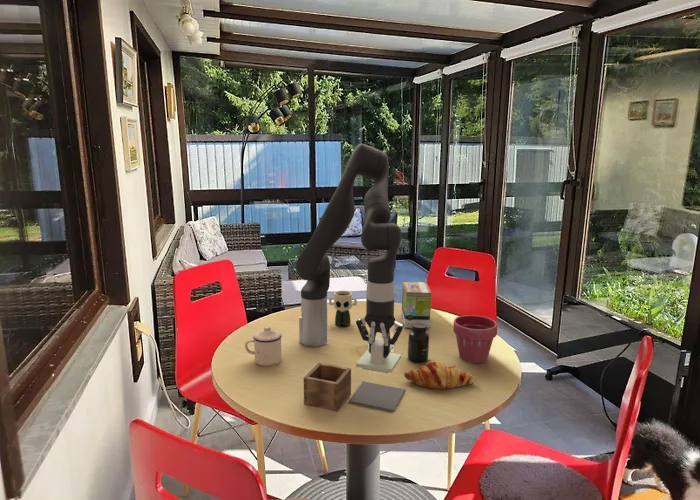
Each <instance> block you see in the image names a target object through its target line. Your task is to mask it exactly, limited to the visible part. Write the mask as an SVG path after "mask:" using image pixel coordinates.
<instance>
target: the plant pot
mask: <svg viewBox="0 0 700 500" xmlns="http://www.w3.org/2000/svg"><path fill="white" fill-rule="evenodd" d="M452 329H453V333H454V334H455V337H456V344H457V348H458V349H457V350H458V355H459V358H460V359H461V360H462V361H464V362H466V363H471V364H482V363H485V362H487V360H488V357H489V354H490V351H491V348H492V345H493V341H494V339H495V338H496V337H497V334H498V323H497V322H496V321H495V320H494V319H493V318H489V317H488V316H485V315H484V316H482V315H474V314H467V315H466V314H465V315H460V316H457V317H456V318H454V319H453V327H452Z"/></svg>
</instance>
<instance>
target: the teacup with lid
mask: <svg viewBox="0 0 700 500" xmlns="http://www.w3.org/2000/svg"><path fill="white" fill-rule="evenodd" d="M282 337H283V336H282V333H281V332H280V331H279V330H278V329H273V328H271V326H264V329H262V330H258V331H256V332H255V333H254V334H253V337H252V339H248V340H246V342H245V343H244V349H245V351H246V352H247V353H248V354H250V355H254V361H255V363H256V364H257V365H260V366H263V367H264V366H265V367H270V366H276V365H277V364H279V363H280V362H281V361H282V358H283V357H282ZM249 343H254V344H253V345H254V346H253V347H254V351H253V350H250V349H249V347H248V344H249Z"/></svg>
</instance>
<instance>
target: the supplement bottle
mask: <svg viewBox="0 0 700 500" xmlns="http://www.w3.org/2000/svg"><path fill="white" fill-rule="evenodd" d="M427 329H428V328H427V325H426V324H424V323H414V324H412V328H411V331H410V332H409V333H408V340H407V341H408V342H407V343H408V345H407V359H408V360H409V361H410V362H412V363H417V364H421V363H422V364H423V363H425V362H427V361H428V360H429V352H430V351H429V350H430V349H429V348H430V334H429V333H428V332H427Z"/></svg>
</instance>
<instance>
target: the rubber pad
mask: <svg viewBox="0 0 700 500" xmlns="http://www.w3.org/2000/svg"><path fill="white" fill-rule="evenodd" d="M405 392H406V388H401V387H395V386H390V385H385V384H380V383H374V382H370V381H362V382H360V385H359V386H358V387H357V388H356V390H355V391H354V393H353V394H351V397H349V398H348V403H349V404H354V405H358V406H363V407H369V408H372V409H378V410H383V411H387V412H391V413H394V412H395V411H396V409H397V407H398V406H399V403H400V402H401V400H402V398H403V396H404V394H405Z"/></svg>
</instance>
